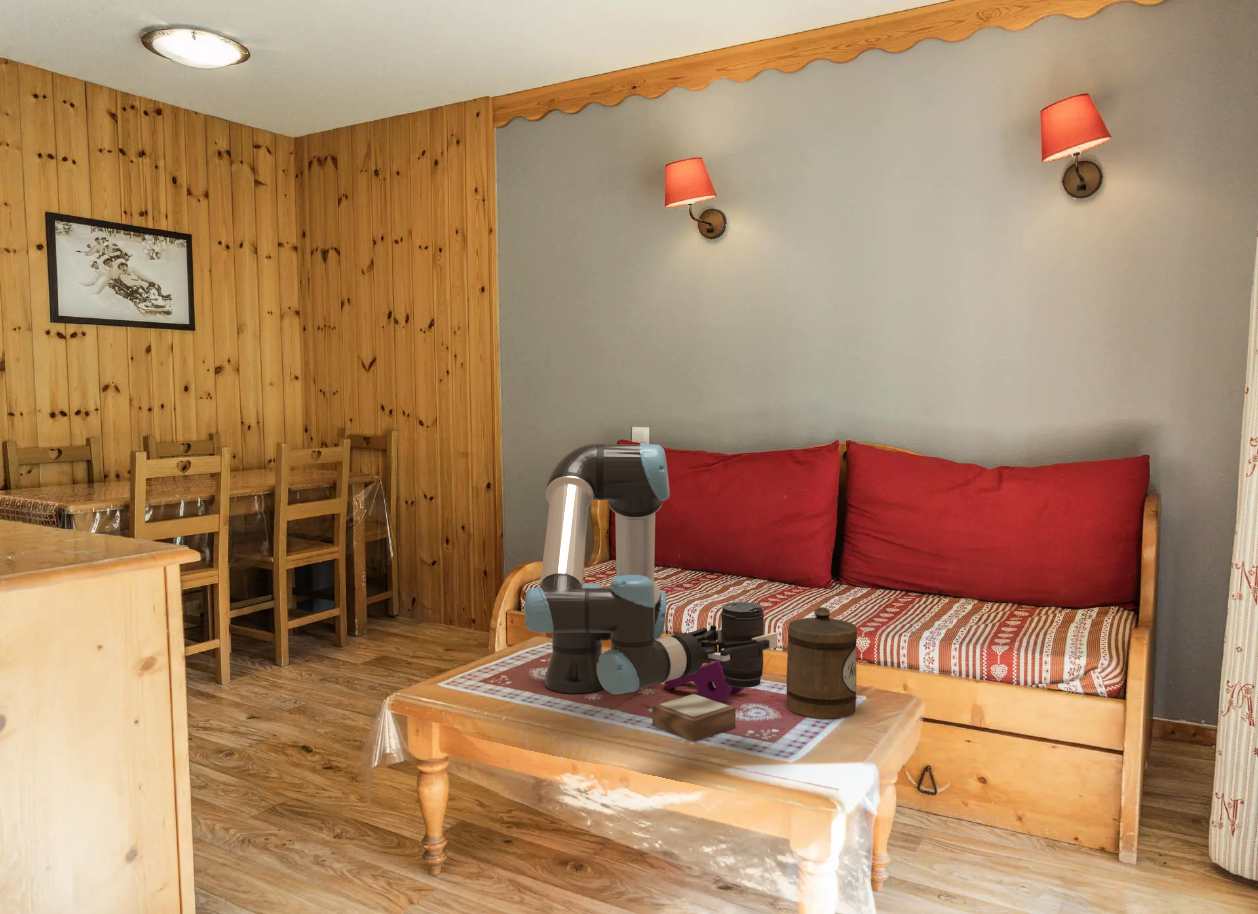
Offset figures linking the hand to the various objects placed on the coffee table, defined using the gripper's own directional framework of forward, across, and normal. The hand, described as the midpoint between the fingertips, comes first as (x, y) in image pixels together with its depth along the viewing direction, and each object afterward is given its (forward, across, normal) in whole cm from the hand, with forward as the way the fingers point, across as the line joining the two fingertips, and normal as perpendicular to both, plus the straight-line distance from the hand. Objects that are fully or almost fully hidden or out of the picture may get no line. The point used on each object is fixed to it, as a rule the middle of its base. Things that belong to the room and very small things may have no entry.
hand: (758, 635), depth 172 cm
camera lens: (-5, 0, -9) cm, 10 cm away
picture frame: (-5, -13, -21) cm, 25 cm away
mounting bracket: (+12, -27, -21) cm, 37 cm away
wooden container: (+24, -3, -21) cm, 32 cm away
